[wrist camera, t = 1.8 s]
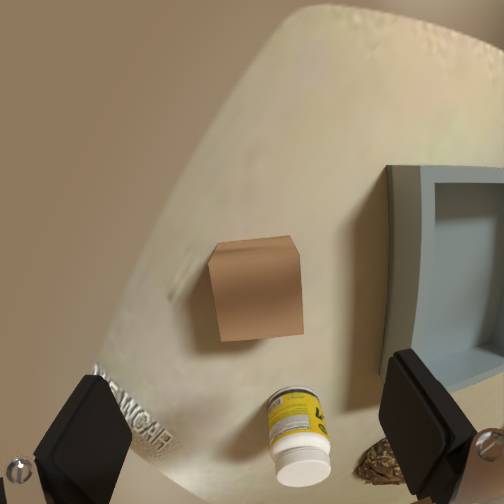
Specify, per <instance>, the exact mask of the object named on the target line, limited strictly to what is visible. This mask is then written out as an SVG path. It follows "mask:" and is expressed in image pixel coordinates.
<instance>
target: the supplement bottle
mask: <svg viewBox="0 0 504 504" xmlns="http://www.w3.org/2000/svg"><path fill="white" fill-rule="evenodd" d="M268 421H269V445H270V456H271V459H272V460H273V462H274V463H275V469H276V477H277V480H278V481H279V482H280V483H281V484H283V485H286V486H290V487H305V486H310V485H314V484H316V483H319V482H321V481H323V480H324V479H325V478H327V477H328V475H329V474H330V471H331V467H330V459H329V456H328V455H329V452H330V441H329V437H328V433H327V429H326V426H325V421H324V417H323V413H322V409H321V405H320V402H319V398H318V396H317V395H316V394H315V393H314V392H313V391H312V390H310V389H308V388H305V387H299V386H295V387H289V388H285V389H283V390H280V391H278V392H277V393H275V394H274V395H273V396H272V397H271V399H270V401H269V403H268Z"/></svg>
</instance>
